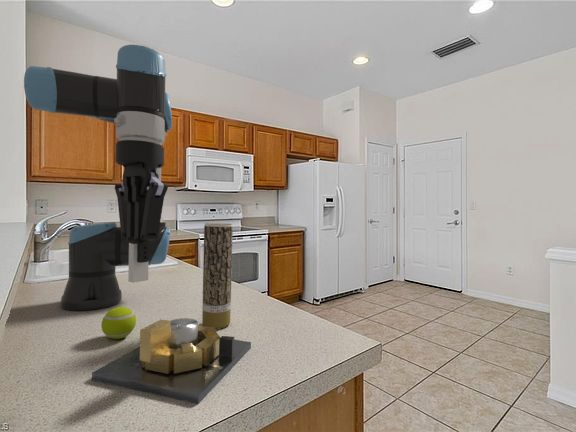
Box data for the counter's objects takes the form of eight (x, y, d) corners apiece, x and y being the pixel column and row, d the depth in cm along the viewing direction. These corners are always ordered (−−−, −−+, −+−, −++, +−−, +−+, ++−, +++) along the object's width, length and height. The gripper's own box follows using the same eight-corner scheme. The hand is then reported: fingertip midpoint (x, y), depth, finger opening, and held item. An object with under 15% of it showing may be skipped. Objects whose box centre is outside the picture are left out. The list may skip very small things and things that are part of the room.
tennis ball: (137, 340, 69) (138, 309, 68) (101, 346, 65) (102, 314, 65) (134, 329, 74) (134, 301, 74) (100, 335, 71) (101, 305, 71)
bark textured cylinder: (235, 322, 81) (237, 223, 80) (221, 332, 74) (223, 225, 74) (212, 318, 83) (214, 222, 82) (196, 327, 77) (198, 223, 76)
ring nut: (172, 335, 68) (173, 298, 68) (229, 344, 64) (230, 305, 64) (110, 372, 52) (111, 325, 52) (181, 387, 49) (182, 336, 48)
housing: (91, 379, 53) (92, 336, 53) (168, 334, 72) (169, 303, 72) (198, 403, 47) (199, 355, 47) (251, 347, 66) (251, 313, 66)
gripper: (99, 143, 55) (97, 278, 56) (139, 133, 48) (137, 291, 48) (141, 150, 61) (139, 272, 62) (182, 143, 54) (180, 282, 54)
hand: (138, 280), depth 55 cm, fingers closed
